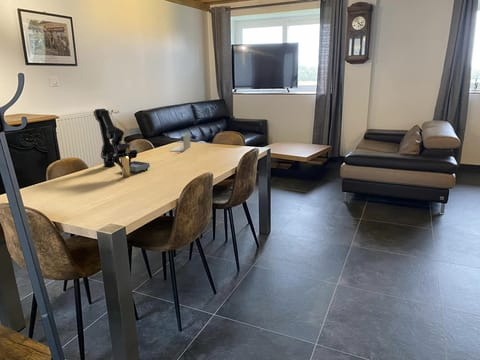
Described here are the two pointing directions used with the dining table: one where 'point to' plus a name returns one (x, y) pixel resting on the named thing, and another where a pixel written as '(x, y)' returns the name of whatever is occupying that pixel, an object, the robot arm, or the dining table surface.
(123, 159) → the gold cylinder
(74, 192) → the dining table surface
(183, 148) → the laptop
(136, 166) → the gray rectangular tray
